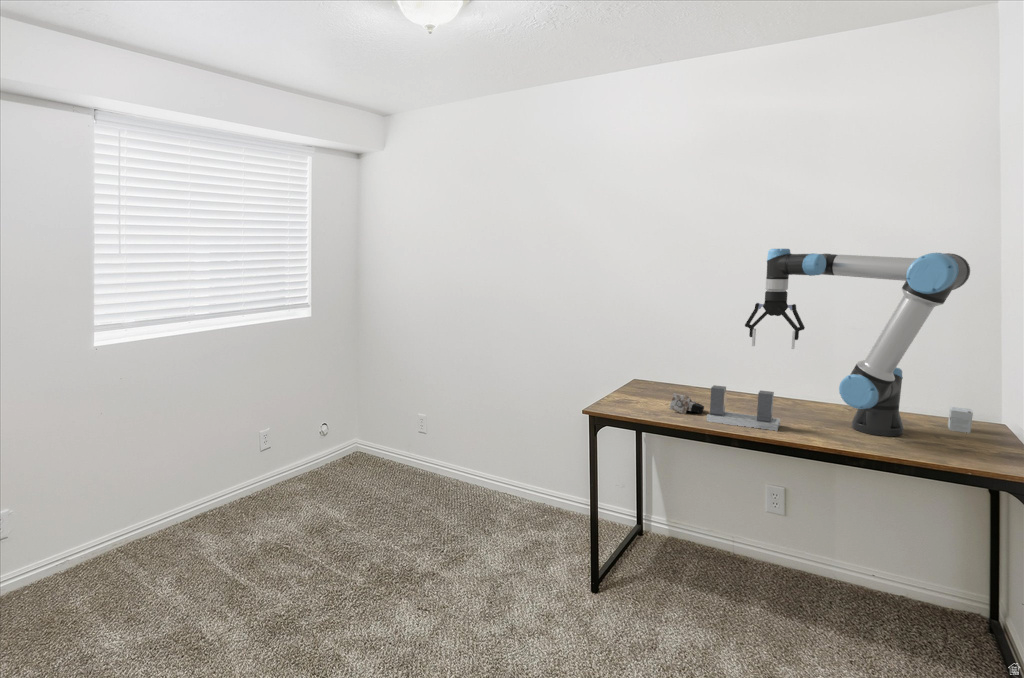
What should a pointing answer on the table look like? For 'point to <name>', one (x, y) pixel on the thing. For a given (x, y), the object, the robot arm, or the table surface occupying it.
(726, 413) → the grey block stand
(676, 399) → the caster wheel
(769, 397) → the grey upright block
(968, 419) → the skincare box
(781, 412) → the table surface
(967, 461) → the table surface
